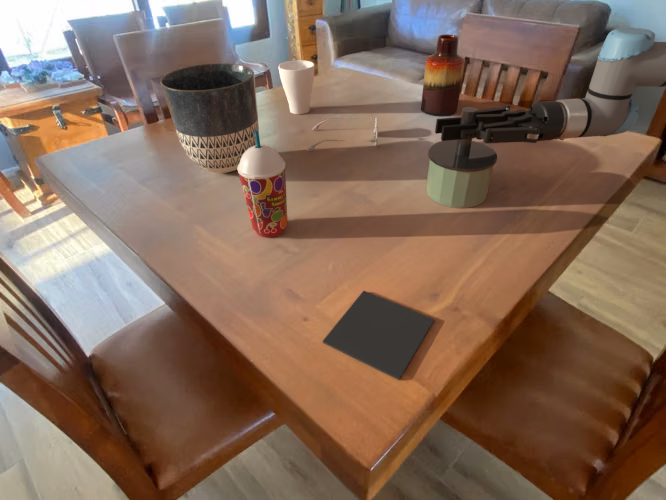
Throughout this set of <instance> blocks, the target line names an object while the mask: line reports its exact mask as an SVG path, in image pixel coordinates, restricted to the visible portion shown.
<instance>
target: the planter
mask: <svg viewBox="0 0 666 500" xmlns="http://www.w3.org/2000/svg"><path fill="white" fill-rule="evenodd" d="M159 83H160V86H161V89H162V93H163V97H164V100H165V102H166V105H167V109H168V111H169V114H170V117H171V121H172V124H173V126H174V130H175V133H176V135H177V138H178V141H179V143H180V146H181V148H182V149H183V151H184V152H185V154H186V156H187V157H188V158H189V160H191V162H193V164H195V165H196V166H198V167H199V168H201V169H203V170H205V171H208V172H210V173H211V172H212V173H216V174H218V173H219V174H225V173H232V172H235V171H238V170H237V167H238V164H239V163H240V159H241V157H242V155H243V153H244V152H245V151H246V150H247V149H248V148H250V147H252V146H254V145H256V139H255V132H254V131H255V130H258V132H259V133H260V131H259V130H260V128H259V127H260V126H259V114H258V103H257V90H256V89H257V88H256V77H255V72H254V70H253V69H252V68H251V67H249V66H246V65H242V64H239V63H230V62H227V63H226V62H217V63H216V62H214V63H202V64H196V65H195V64H194V65H190V66H185V67H182V68H178V69H175V70H172V71H170V72H168V73H166V74H165V75H164V76H162V77H161V79H160V82H159Z"/></svg>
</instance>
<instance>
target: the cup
mask: <svg viewBox="0 0 666 500" xmlns="http://www.w3.org/2000/svg"><path fill="white" fill-rule="evenodd" d="M277 68H278V72H279V78H280V81H281V85H282V88H283V90H284V94H285V97H286V100H287V102H288V103H287V104H288V107H289V112H290V113H291V114H292V115H305V114H308V113H309V112H310V110H311V109H310V108H311V97H312V91H313V87H314V86H313V85H314V80H315V63H314V62H313V61H310V60H304V59H296V60H295V59H294V60H287V61H284V62H281V63H279V64H278V66H277Z"/></svg>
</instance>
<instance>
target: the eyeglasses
mask: <svg viewBox="0 0 666 500" xmlns="http://www.w3.org/2000/svg"><path fill="white" fill-rule="evenodd" d="M334 119H360V117H354V116H353V117H346V116H345V117H344V116H343V117H341V116H340V117H339V116H338V117H336V116H335V117H331V118H327V119H325V120H322V121H320V122H319V123H317V124H316V125H314V127H312V131H317V130H318V129H319V128H320V126H321V125H322V124H323V123H325V122H327V121H329V120H334ZM370 120H375V121H374V129H373V138H375V139H371V140H370V142H371V143H375V149H377V148H378V139H379V138H378V137H379V131H378V118H377V116H371V117H370ZM325 142H344V139H343V140H341V139H340V140H339V139H325V140H321V141H319V142H316V143H314V144H312V145H311V146H309V147H308V148H307V149H306V150H307V152H312V151H313V150H314V149H315V147H316V146H318V145H320V144H322V143H325Z"/></svg>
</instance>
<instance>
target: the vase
mask: <svg viewBox="0 0 666 500" xmlns="http://www.w3.org/2000/svg"><path fill="white" fill-rule="evenodd" d="M458 47H459V36H458V35H455V34H449V33H448V34H440V35H438V37H437V41H436V47H435V51H434V53H433V54H430V55H428V56H427V57H426V58H425V65H424V66H425V67H424V77H423V84H422V95H421V103H420V104H421V105H420V106H421V107H420V110H421V112H422V113H424V114H426V115H429V116H433V117H448V116H452V115H454V114H456V113H457V112H458V109H459V108H458V107H459V102H460V96H461V95H460V94H461V89H462V82H463V76H464V69H465V64H466V60H465V58H464V57H463V56H461V55H460V54H458V49H459V48H458Z"/></svg>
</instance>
